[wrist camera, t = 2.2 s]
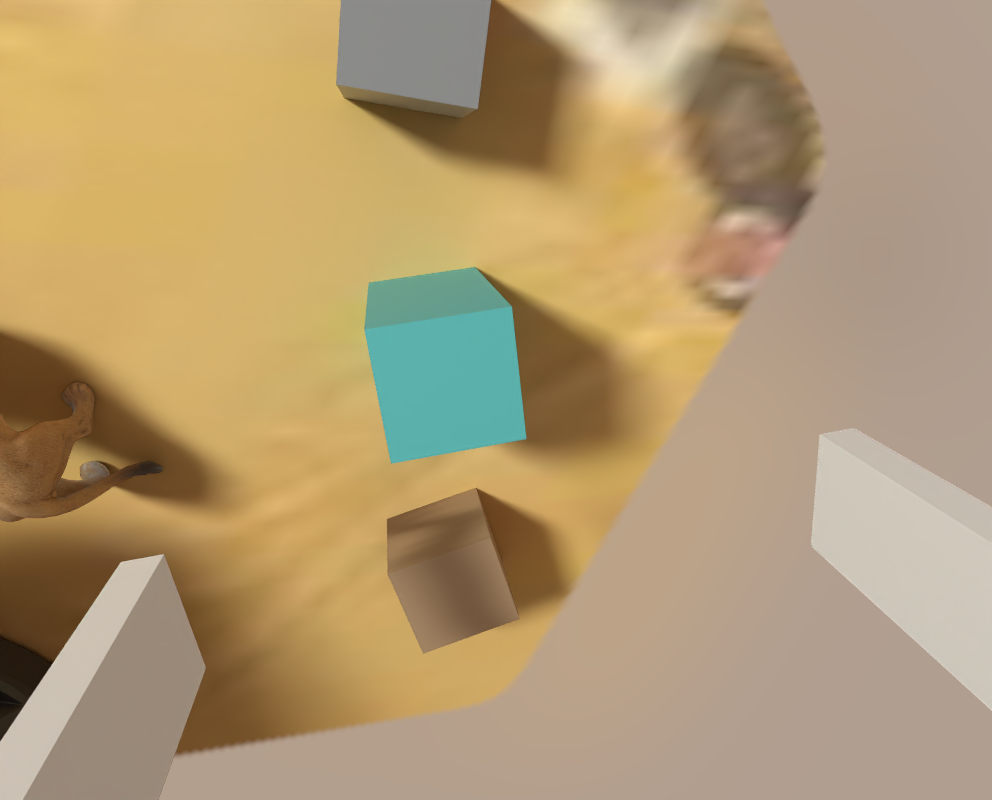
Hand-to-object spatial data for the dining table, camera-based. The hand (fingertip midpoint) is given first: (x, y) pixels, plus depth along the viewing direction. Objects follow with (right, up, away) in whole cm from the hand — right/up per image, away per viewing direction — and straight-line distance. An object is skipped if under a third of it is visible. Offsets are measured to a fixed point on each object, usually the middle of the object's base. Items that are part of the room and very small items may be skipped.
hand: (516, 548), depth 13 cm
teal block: (-4, +7, +18) cm, 19 cm away
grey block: (-4, +18, +14) cm, 23 cm away
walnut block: (-3, -5, +22) cm, 23 cm away
